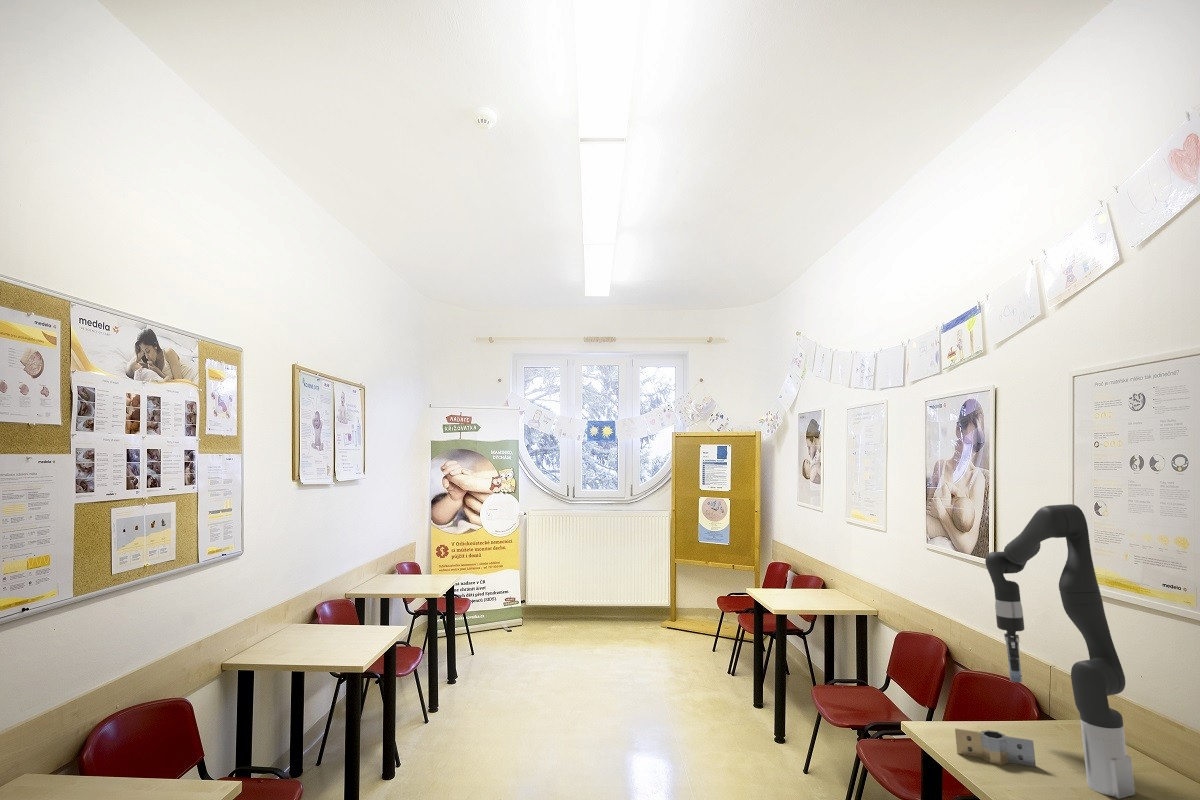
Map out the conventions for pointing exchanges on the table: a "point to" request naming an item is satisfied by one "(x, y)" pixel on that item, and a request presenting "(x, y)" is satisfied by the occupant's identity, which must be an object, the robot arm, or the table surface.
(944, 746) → the table surface
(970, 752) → the hinge
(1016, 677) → the pin
